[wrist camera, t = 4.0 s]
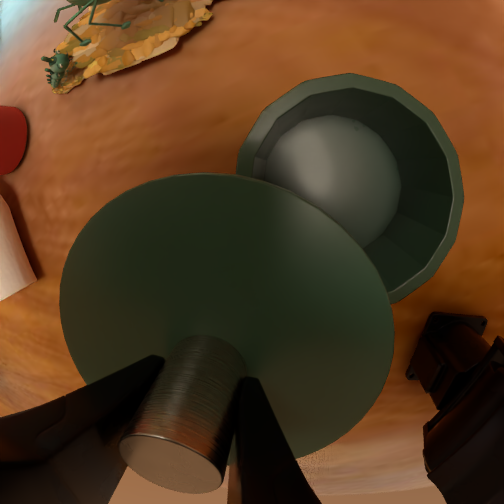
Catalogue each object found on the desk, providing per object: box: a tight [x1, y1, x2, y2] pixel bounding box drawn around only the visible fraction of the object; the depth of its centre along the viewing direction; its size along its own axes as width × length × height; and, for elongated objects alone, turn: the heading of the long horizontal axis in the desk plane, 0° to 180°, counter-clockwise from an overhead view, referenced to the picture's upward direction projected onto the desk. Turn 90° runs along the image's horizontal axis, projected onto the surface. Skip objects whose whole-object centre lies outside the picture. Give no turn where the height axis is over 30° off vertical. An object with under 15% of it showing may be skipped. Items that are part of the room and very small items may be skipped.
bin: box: [236, 73, 464, 304], centre depth 15 cm, size 10×10×8 cm
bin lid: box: [59, 172, 395, 494], centre depth 8 cm, size 11×11×5 cm
